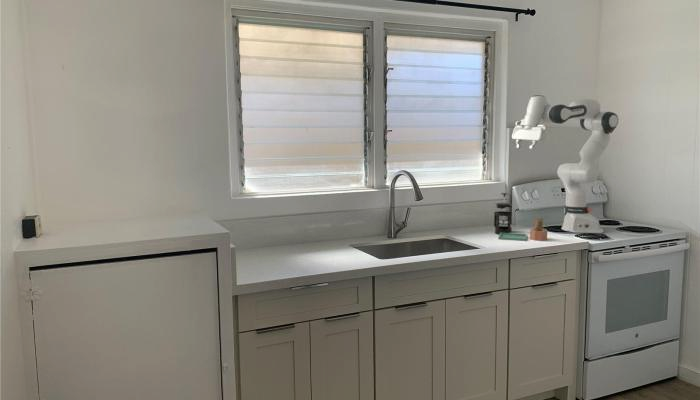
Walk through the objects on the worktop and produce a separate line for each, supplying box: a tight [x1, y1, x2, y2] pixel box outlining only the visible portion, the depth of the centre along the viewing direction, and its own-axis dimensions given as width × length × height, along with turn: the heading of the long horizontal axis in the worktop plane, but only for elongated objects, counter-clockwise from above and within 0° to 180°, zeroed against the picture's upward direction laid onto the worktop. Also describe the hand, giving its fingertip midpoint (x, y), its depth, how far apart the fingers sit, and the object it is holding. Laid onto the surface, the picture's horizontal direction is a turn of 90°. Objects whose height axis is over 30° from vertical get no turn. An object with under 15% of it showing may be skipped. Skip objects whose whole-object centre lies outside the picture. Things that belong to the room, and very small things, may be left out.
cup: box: [529, 227, 548, 242], centre depth 281 cm, size 8×8×6 cm
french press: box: [493, 192, 513, 235], centre depth 302 cm, size 12×9×23 cm
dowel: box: [534, 217, 544, 231], centre depth 281 cm, size 4×4×11 cm
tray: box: [497, 232, 528, 242], centre depth 286 cm, size 14×14×2 cm
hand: (524, 148), depth 290 cm, fingers open, 8 cm apart
